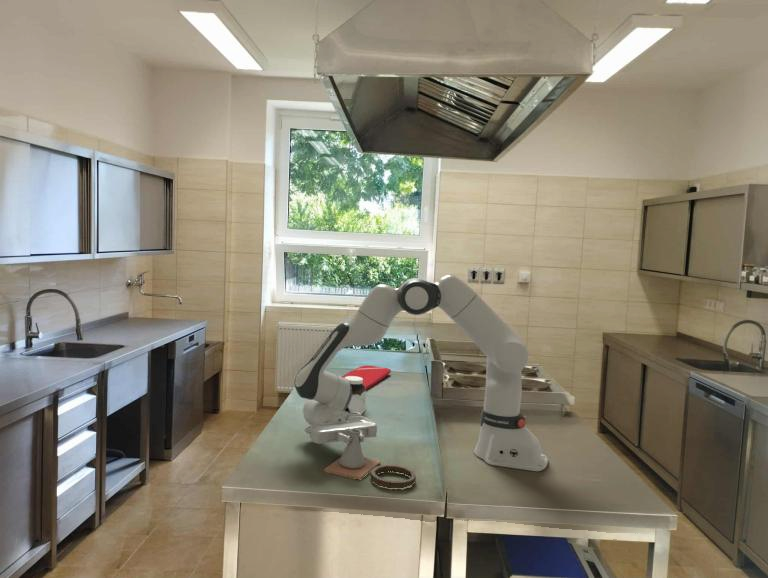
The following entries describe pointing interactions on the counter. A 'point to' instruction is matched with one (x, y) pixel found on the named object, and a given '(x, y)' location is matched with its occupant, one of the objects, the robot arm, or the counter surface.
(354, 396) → the spread jar
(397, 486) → the ring holder
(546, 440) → the counter surface
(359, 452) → the flask
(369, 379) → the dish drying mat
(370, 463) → the terracotta pad
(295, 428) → the counter surface
